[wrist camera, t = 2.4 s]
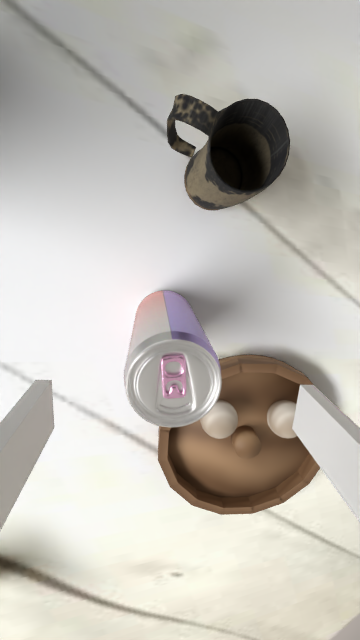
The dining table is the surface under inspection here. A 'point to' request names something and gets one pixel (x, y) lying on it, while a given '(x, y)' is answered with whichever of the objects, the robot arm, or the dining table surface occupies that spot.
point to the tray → (219, 457)
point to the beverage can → (170, 363)
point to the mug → (230, 149)
